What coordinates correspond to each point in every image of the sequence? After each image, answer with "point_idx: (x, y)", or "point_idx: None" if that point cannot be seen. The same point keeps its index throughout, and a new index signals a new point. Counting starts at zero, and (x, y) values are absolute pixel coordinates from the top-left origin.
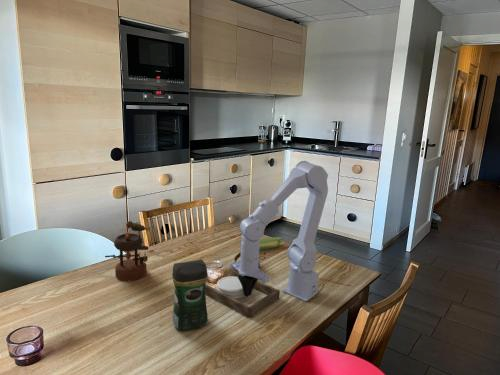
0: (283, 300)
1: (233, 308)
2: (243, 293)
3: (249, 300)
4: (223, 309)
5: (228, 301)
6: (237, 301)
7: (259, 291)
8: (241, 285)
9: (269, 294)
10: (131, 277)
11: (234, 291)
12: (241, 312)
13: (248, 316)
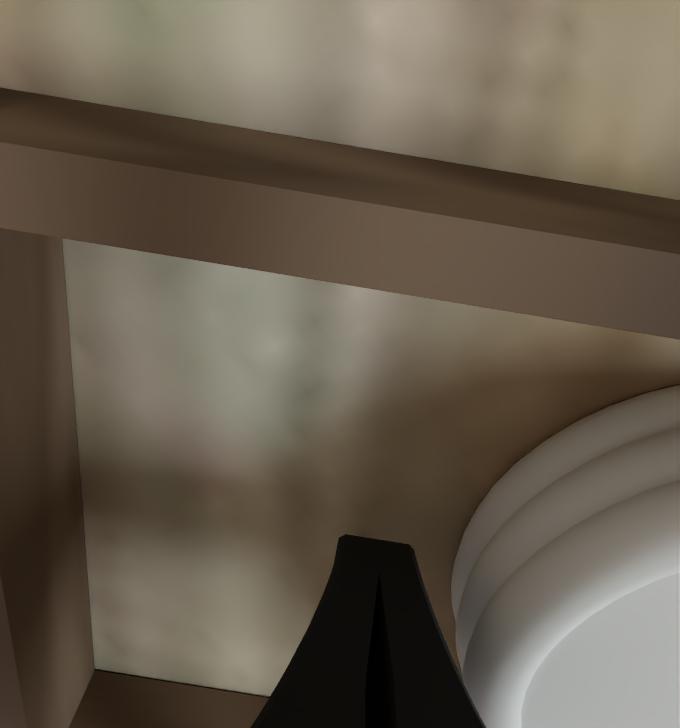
0: None
1: (406, 158)
2: (463, 591)
3: (331, 516)
4: (600, 35)
5: (577, 212)
6: (314, 240)
7: None
8: (559, 724)
9: (20, 702)
10: None
11: (600, 541)
12: (184, 123)
13: (3, 94)
